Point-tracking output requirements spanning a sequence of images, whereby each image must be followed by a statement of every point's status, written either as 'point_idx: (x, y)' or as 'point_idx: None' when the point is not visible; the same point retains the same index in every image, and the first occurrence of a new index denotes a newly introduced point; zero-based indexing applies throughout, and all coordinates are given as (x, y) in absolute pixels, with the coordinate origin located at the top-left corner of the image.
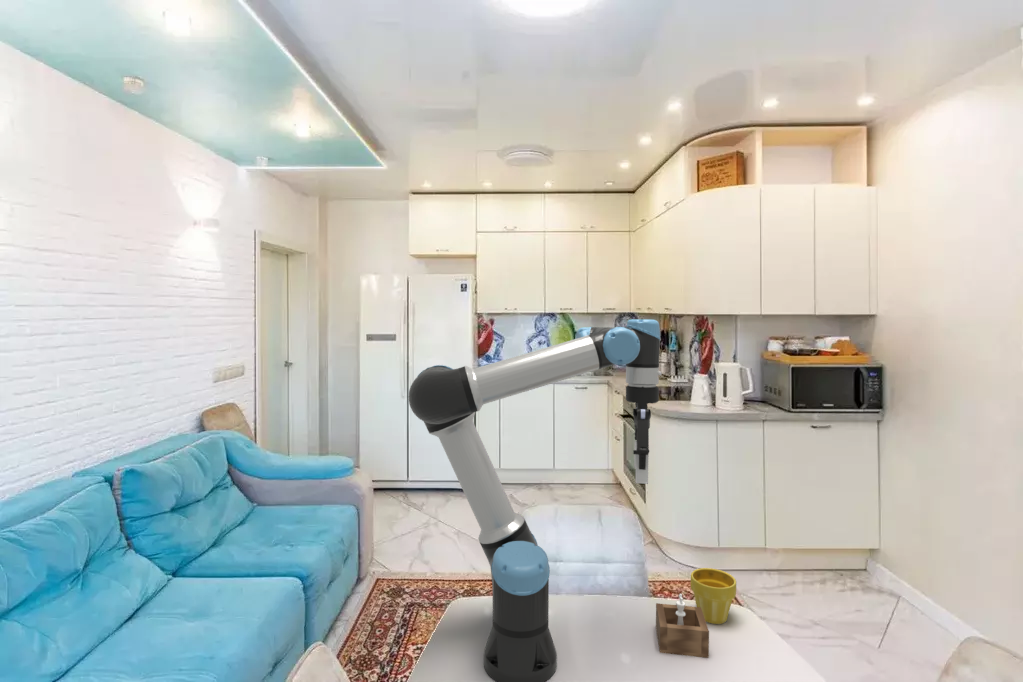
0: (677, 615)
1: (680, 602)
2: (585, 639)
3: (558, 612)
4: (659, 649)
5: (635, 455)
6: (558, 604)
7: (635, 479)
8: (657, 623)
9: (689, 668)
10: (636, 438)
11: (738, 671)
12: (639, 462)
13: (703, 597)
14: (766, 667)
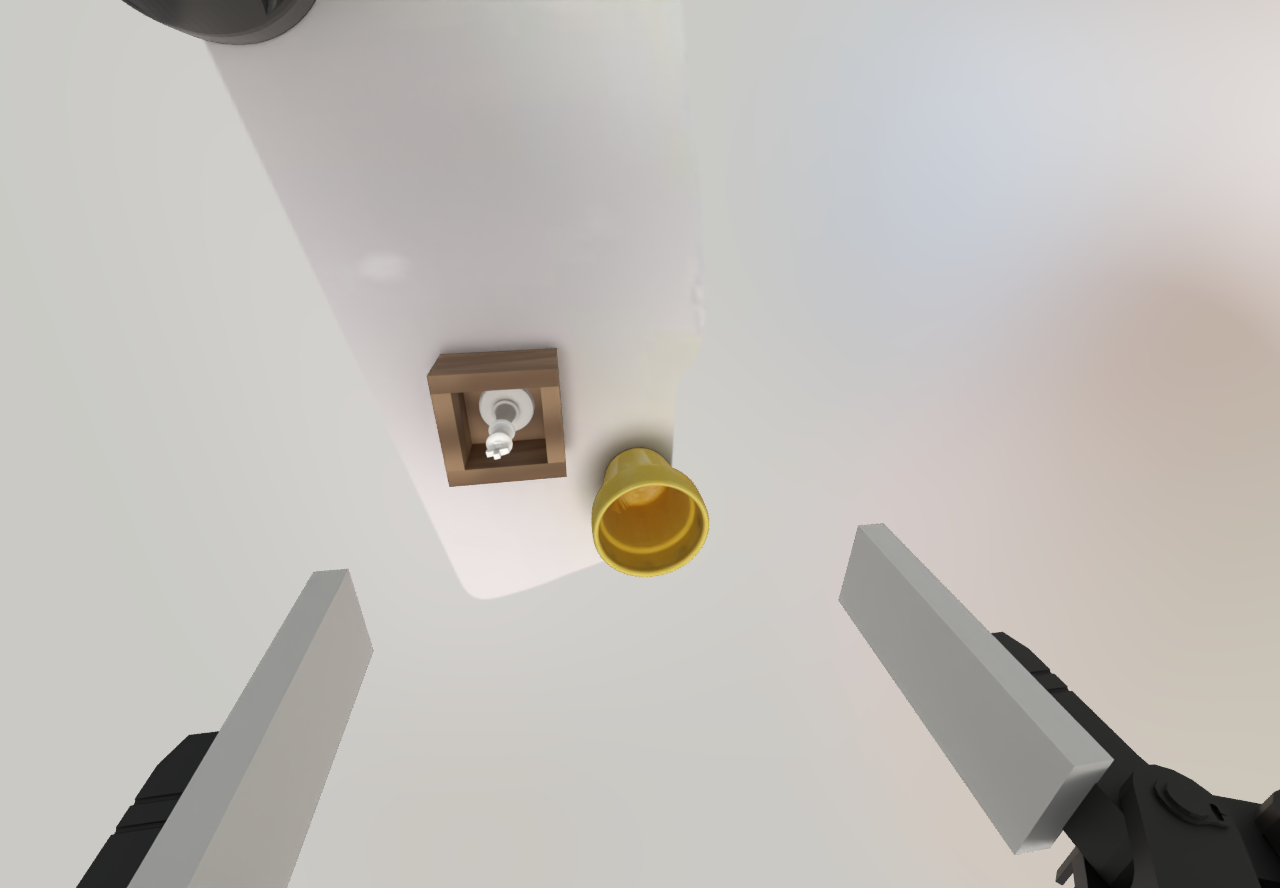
0: (491, 423)
1: (493, 445)
2: (430, 141)
3: (565, 27)
4: (452, 354)
5: (928, 616)
6: (618, 22)
7: (332, 588)
8: (509, 361)
9: (401, 415)
10: (1132, 822)
11: (430, 504)
12: (111, 840)
13: (600, 489)
14: (465, 550)
